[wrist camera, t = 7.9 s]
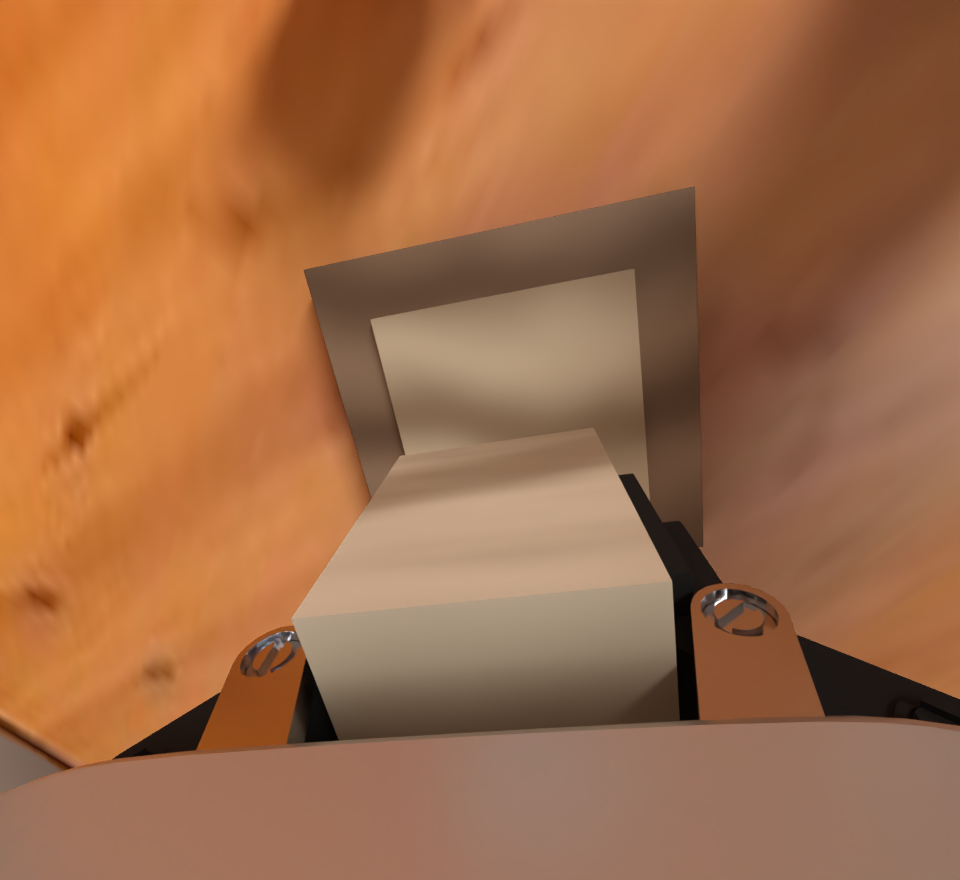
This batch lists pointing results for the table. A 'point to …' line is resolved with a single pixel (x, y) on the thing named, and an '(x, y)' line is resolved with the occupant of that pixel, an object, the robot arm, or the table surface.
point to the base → (530, 343)
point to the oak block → (494, 598)
